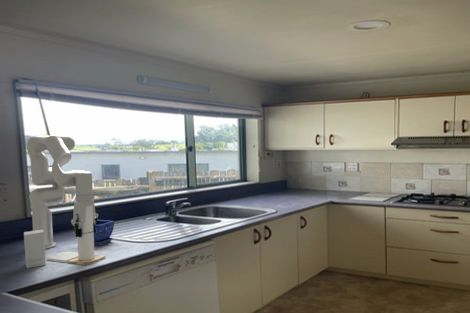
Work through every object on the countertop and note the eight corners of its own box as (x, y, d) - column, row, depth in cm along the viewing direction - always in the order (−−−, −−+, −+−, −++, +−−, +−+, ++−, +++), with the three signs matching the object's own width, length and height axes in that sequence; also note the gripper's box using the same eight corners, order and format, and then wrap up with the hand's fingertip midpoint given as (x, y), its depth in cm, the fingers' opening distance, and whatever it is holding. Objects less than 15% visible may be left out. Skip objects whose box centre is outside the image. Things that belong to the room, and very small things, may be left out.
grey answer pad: (46, 260, 196) (46, 258, 196) (65, 253, 207) (65, 251, 207) (65, 262, 191) (65, 260, 191) (84, 255, 202) (84, 253, 202)
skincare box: (45, 261, 193) (43, 229, 192) (45, 265, 187) (44, 231, 186) (25, 264, 189) (23, 231, 188) (25, 268, 183) (23, 234, 182)
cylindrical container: (80, 261, 189) (78, 207, 188) (76, 257, 195) (74, 205, 194) (96, 258, 193) (94, 205, 192) (91, 255, 199) (89, 204, 198)
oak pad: (67, 262, 191) (67, 260, 191) (85, 255, 202) (85, 253, 202) (87, 265, 186) (87, 263, 186) (105, 258, 197) (105, 256, 197)
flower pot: (96, 239, 234) (95, 219, 233) (115, 241, 229) (114, 220, 229) (79, 245, 221) (79, 223, 221) (100, 247, 217) (99, 225, 216)
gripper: (91, 195, 202) (92, 230, 203) (64, 200, 186) (65, 238, 187) (103, 195, 199) (104, 231, 200) (76, 201, 183) (78, 239, 184)
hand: (85, 234), depth 193 cm, fingers open, 8 cm apart
